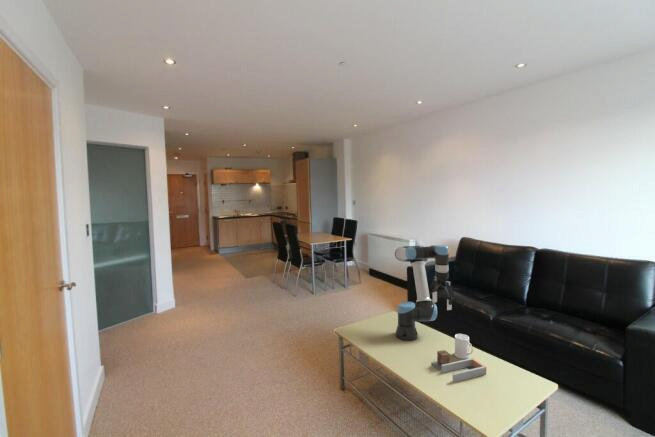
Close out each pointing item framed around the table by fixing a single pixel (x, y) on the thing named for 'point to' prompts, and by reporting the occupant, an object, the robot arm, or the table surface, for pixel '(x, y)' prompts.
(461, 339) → the mug
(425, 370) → the table surface
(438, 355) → the block
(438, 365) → the coaster
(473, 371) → the channel
